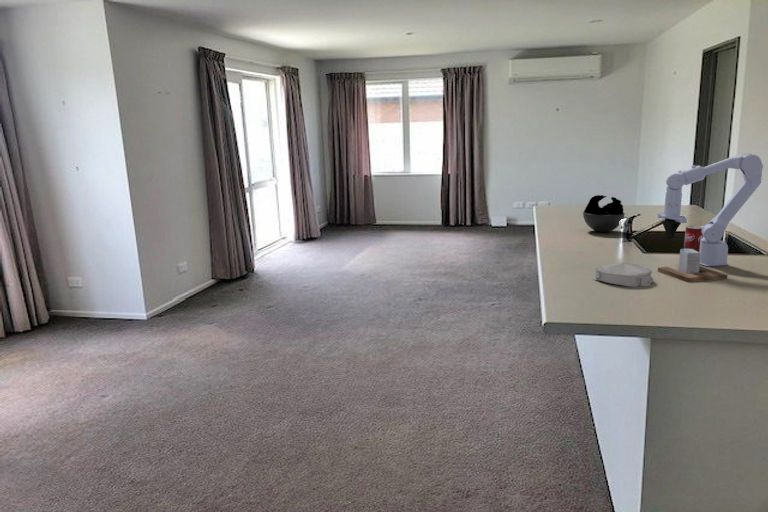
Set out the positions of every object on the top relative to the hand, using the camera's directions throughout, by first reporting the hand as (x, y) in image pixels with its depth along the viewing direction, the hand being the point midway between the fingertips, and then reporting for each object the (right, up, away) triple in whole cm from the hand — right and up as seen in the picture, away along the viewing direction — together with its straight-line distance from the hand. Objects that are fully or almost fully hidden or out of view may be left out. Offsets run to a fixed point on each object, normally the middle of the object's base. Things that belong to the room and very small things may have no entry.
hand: (669, 238), depth 230 cm
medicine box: (-2, -14, -17) cm, 22 cm away
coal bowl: (-1, +5, +69) cm, 69 cm away
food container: (-28, -16, -23) cm, 40 cm away
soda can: (+15, -7, +12) cm, 21 cm away
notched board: (-2, -14, -19) cm, 24 cm away
